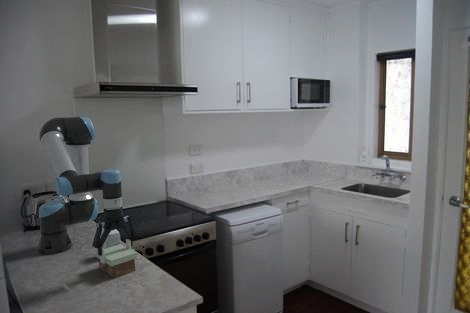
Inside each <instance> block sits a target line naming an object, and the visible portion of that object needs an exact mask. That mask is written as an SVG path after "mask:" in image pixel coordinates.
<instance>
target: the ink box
mask: <svg viewBox="0 0 470 313" xmlns="http://www.w3.org/2000/svg"><path fill="white" fill-rule="evenodd" d="M121 242H122V241H121V233H120V232H119V231H118V229H115V230H111V232H110V233H109V235H108V237H107V239H106V241H105V244H106V245H105V246H106V248H109V247H113V246H116V245H120V244H121ZM121 245H122V244H121Z"/></svg>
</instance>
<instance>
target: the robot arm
mask: <svg viewBox="0 0 470 313" xmlns="http://www.w3.org/2000/svg"><path fill="white" fill-rule="evenodd" d="M95 134H96V132H95V127H94V125H93V122H92V120H91V119H90V118H89V117H86V116H71V117H69V116H68V117H53V118H50V119H49V120H47V121H46V122H44V124H43V125H42V127H41V128H40V131H39V141H40V143H41V145H42V146H43V147H44V148H45V150H46V152H47V154H48V156H49V157H48V158H49V159H50V161H51V164H52V167H53V168H54V171H55V174H56V178H55V181H54V187H55V193H56V194H57V195H58V196H59V197H63V196H64V197H65V196H69V197H68V201H65V200H63V199H57V200H51V201H48V202H46V203H43V204H42V205H40V206H39V207H38V218H39V228H40V229H39V230H40V231H39V232H40V238H39V241H38V245H37V251H38V254H41V255H54V254H59V253H63V252H65V251H68V250H70V249H71V248H72V247H73V242H72V239H71V236H70V234H69V233H68V227H69V226H72V225H76V224H84V223H88V222H91V221H94V220H95V219H96V218H97V217H98V214H99V205H98V200H97V199H96V197H94V195H93V194H92V192H98V191H101V192H102V194H101V195H102V207H103V221H102V222H99V221H98V222H96V230H95V234H94V238H93V241H92V246H91V247H93V248H94V249H96V250H97V251H98V255H99V256H100V262H101V263H103V264H104V263H105V253H104V249H105V247H104V244H106V239H107V237H108V235H109V233H110V232H111V230H115V229H116V230H120V231H121V232H122V233H123V234H124V236H125V237H126V239H125V247H126V248H128V249H130V250H132V247H133V245H134V244H133V240H134V238H136V237H137V233H136V231H135V228H134V226H133V224H132V222H131V217H130V216H129V215H125V216H124V209H123V193H122V192H123V191H122V176H121V175H122V174H121V171H120V170H119V169H104V170H101V171H100V170H98V171H95V172H94V173H93V172H92V173H90V164H89V147H90V146H91V144H92V141H94V140H95V138H96V137H95V136H96V135H95ZM64 142H65V143H64ZM66 147H68V149H67V148H66ZM124 222H125V224H126V227H127V229H128V230H127V229H126V227H125V226H124V224H123V223H124ZM104 226H105V227H104ZM103 228H104V229H103Z"/></svg>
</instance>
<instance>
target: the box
mask: <svg viewBox="0 0 470 313" xmlns="http://www.w3.org/2000/svg"><path fill="white" fill-rule="evenodd" d="M135 261H136V260H135V259H133V260H130V261H127V262H124V263H120V264H117V265H114V266H110V265H108V264H107V263H104V264H103V263H101V262H100V259H99V258H98V266H99V269H101V270H102V271H103V272H104V273H106V274H108V275H109V276H110V277H112V278H113V279H116V278H120V277H122V276H125V275H128V274H131V273H133V272H136V263H135Z"/></svg>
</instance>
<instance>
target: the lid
mask: <svg viewBox="0 0 470 313" xmlns="http://www.w3.org/2000/svg"><path fill="white" fill-rule="evenodd" d="M104 253H105V263H107V264H108V265H110V266H114V265H117V264H120V263H124V262H127V261H130V260H133V259H137V252H136V251H134V250H132V249H131V250H130V249H128V248H126V246H124V245H123V244H120V245H116V246H113V247H109V248H107V247H106V248H104ZM95 256H96V258H98V260H99V259H100V256H99V255H98V250H95Z"/></svg>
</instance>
